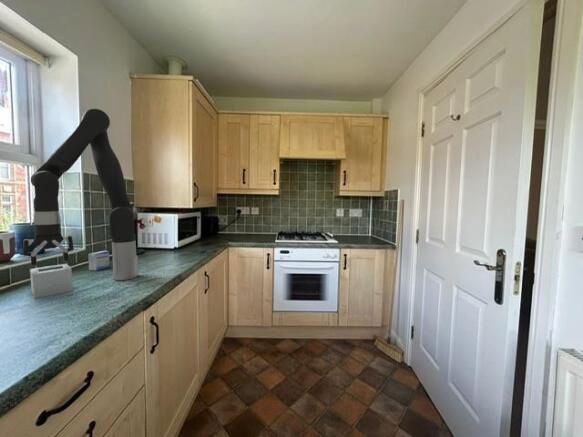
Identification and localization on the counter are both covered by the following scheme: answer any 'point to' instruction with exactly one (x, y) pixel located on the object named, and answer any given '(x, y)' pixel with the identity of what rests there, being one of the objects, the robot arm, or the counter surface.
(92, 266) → the medicine box
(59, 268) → the money box
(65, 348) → the counter surface
